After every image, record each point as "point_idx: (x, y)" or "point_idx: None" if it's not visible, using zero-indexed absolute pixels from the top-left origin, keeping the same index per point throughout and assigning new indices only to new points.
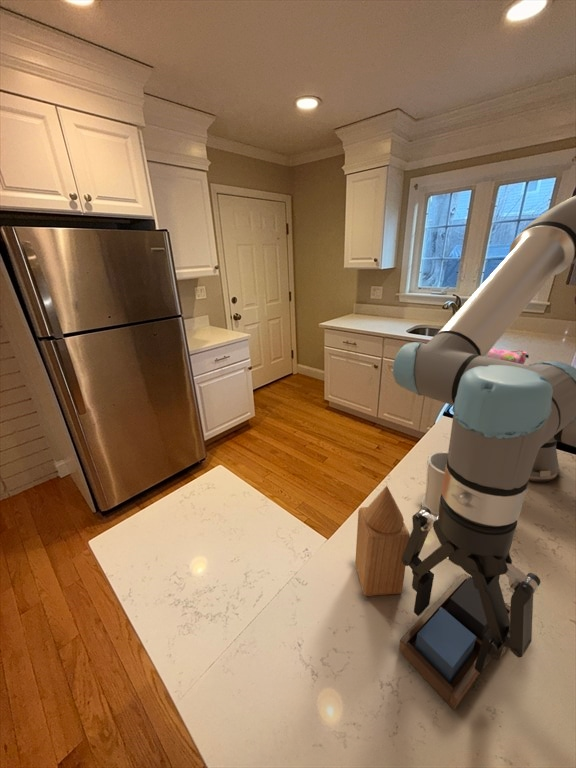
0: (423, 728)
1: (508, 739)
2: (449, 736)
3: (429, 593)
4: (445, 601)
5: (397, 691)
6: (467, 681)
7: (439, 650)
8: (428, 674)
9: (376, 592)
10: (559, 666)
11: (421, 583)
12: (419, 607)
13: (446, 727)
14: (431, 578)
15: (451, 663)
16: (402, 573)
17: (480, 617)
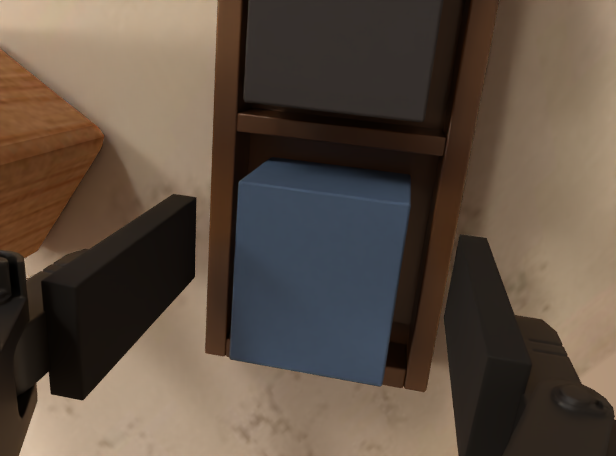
0: (376, 447)
1: (574, 324)
2: (436, 421)
3: (155, 243)
4: (240, 68)
5: (283, 420)
6: (433, 322)
7: (318, 362)
8: None
9: (45, 231)
10: None
11: (70, 396)
12: (170, 303)
13: (422, 409)
14: (88, 305)
15: (371, 377)
16: (21, 174)
17: (393, 92)
